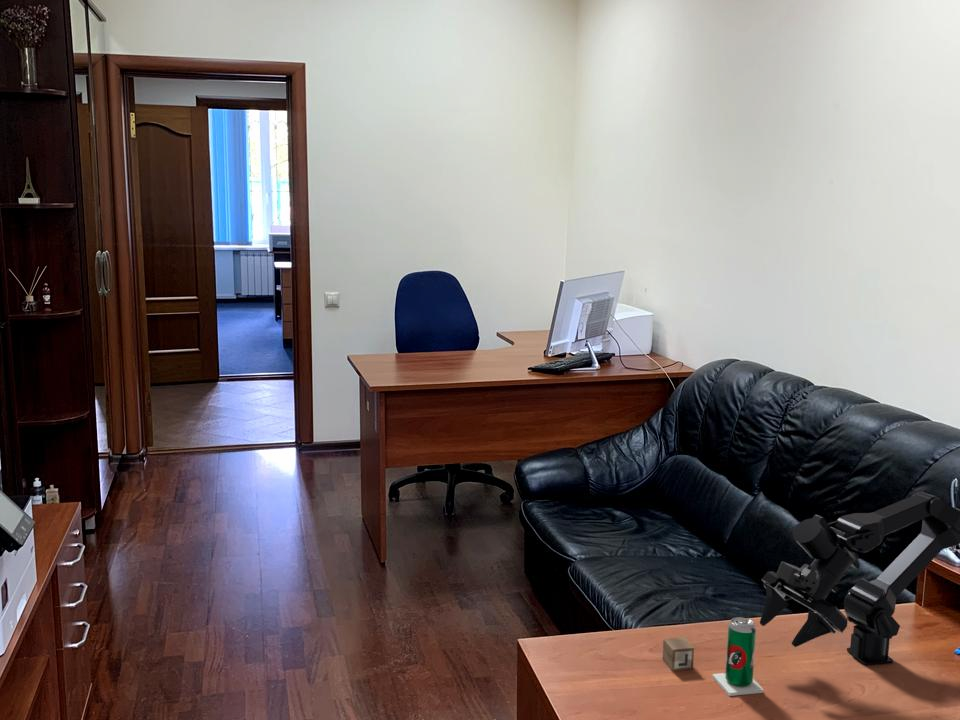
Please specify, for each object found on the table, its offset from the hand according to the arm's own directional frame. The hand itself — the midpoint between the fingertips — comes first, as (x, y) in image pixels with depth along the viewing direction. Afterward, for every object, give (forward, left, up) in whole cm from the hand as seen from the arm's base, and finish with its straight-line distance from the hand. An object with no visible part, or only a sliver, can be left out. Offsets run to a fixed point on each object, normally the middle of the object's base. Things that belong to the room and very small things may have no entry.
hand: (776, 634), depth 169 cm
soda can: (+8, +1, -8) cm, 12 cm away
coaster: (+8, +2, -9) cm, 12 cm away
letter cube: (+16, -8, -9) cm, 20 cm away
